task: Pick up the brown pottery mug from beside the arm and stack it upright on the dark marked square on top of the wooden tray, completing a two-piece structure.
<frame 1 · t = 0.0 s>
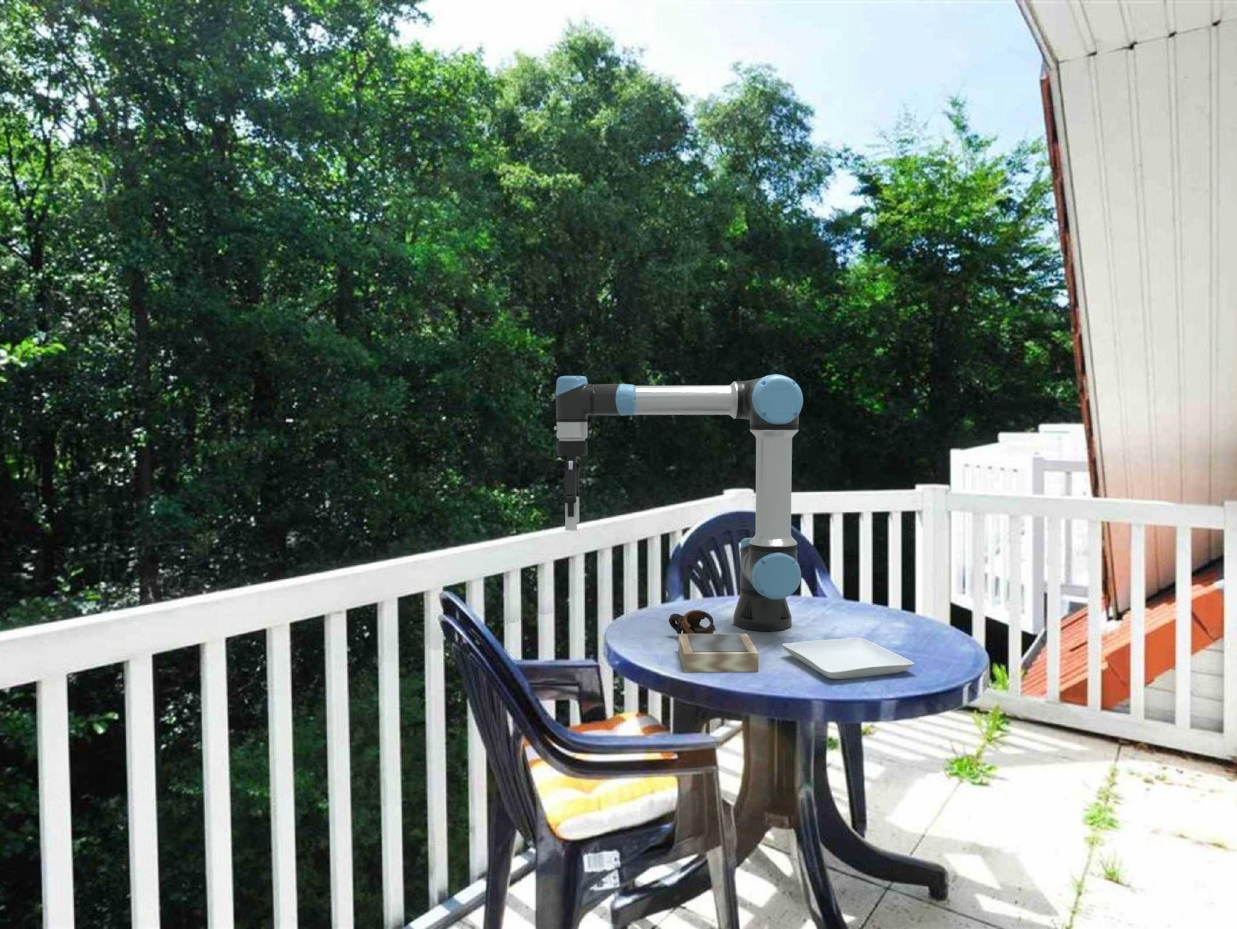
hand: (572, 526, 204), 28 cm above the table, tool pointing down, fingers open, 13 cm apart
pottery mug: (691, 640, 205), on the table
salad plate: (845, 668, 184), on the table
wooden tray: (716, 660, 187), on the table
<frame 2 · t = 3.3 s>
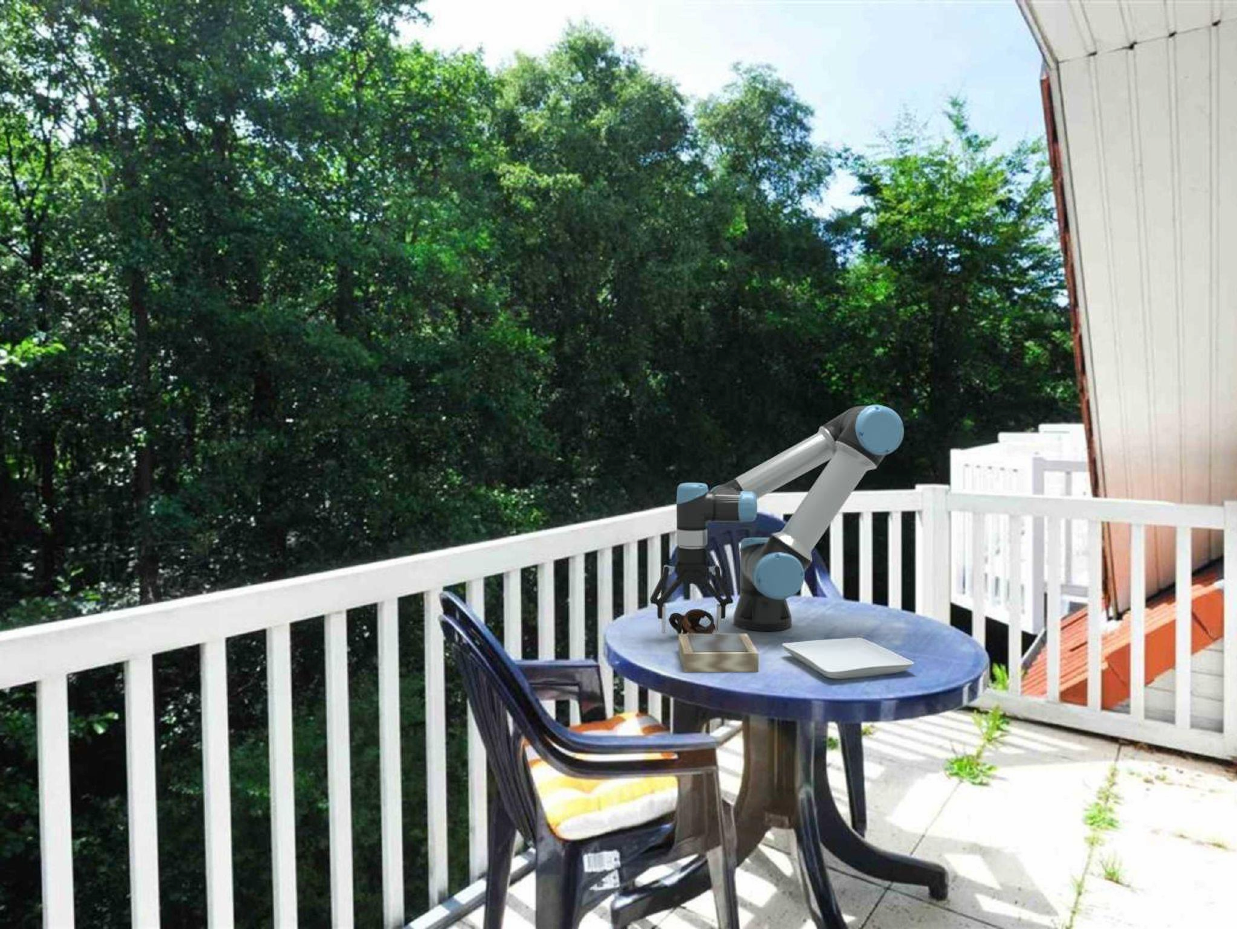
hand: (691, 631, 205), 2 cm above the table, tool pointing down, fingers open, 13 cm apart
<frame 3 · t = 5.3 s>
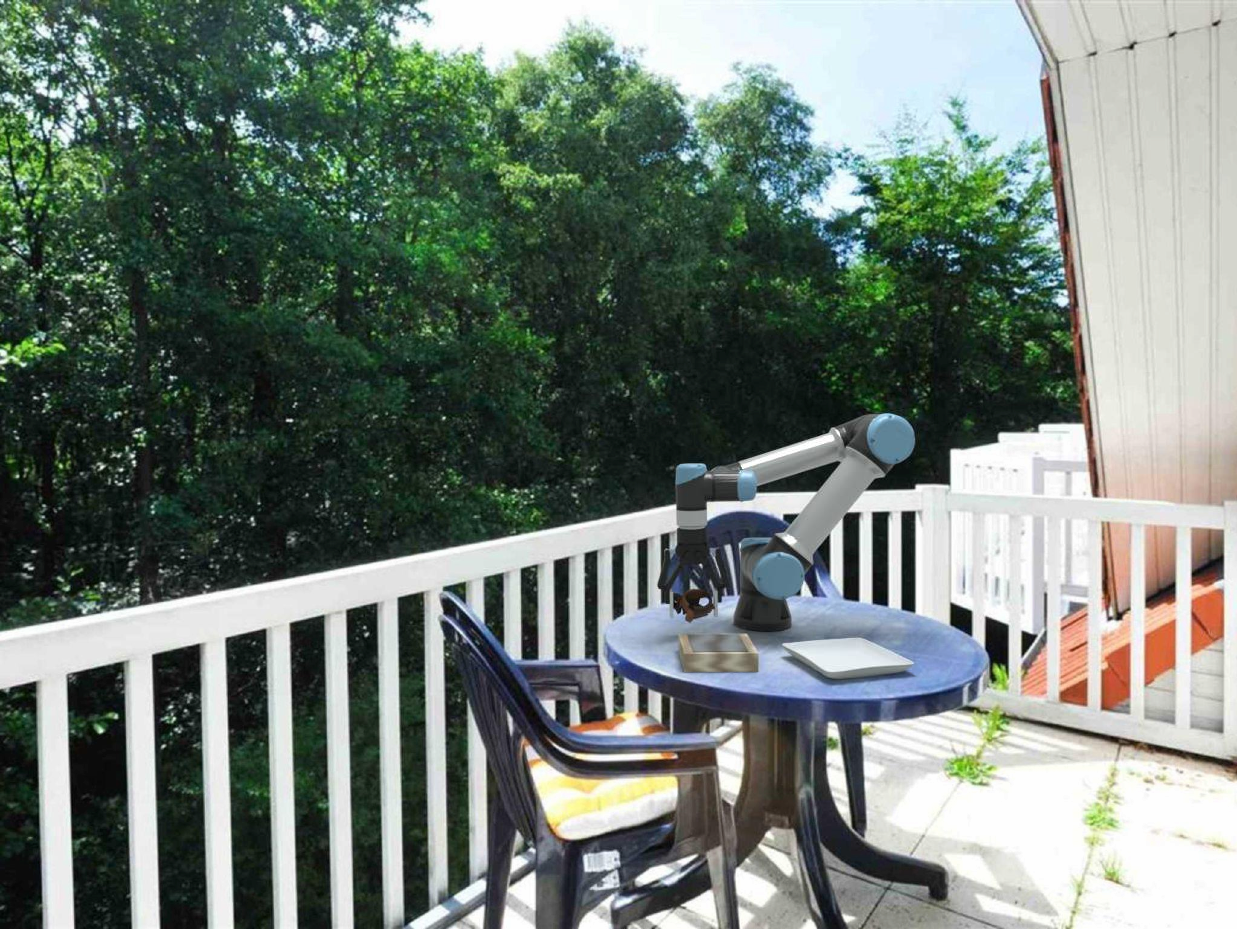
hand: (693, 616, 205), 6 cm above the table, tool pointing down, fingers closed on pottery mug, 10 cm apart
pottery mug: (691, 619, 206), point 5 cm above the table, touching gripper
everything else where it was.
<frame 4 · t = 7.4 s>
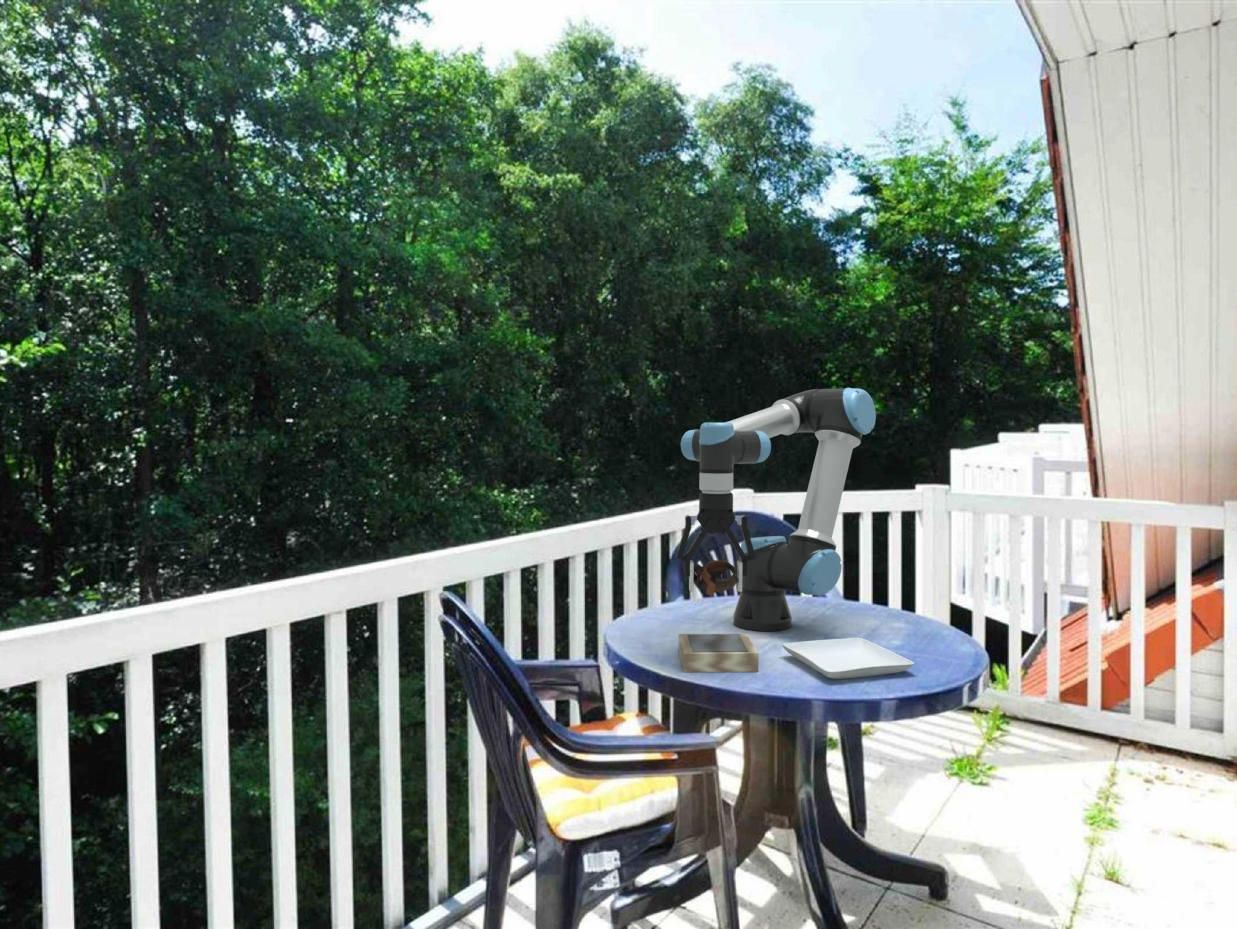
hand: (715, 590, 187), 16 cm above the table, tool pointing down, fingers closed on pottery mug, 10 cm apart
pottery mug: (712, 593, 188), point 15 cm above the table, touching gripper
everything else where it was.
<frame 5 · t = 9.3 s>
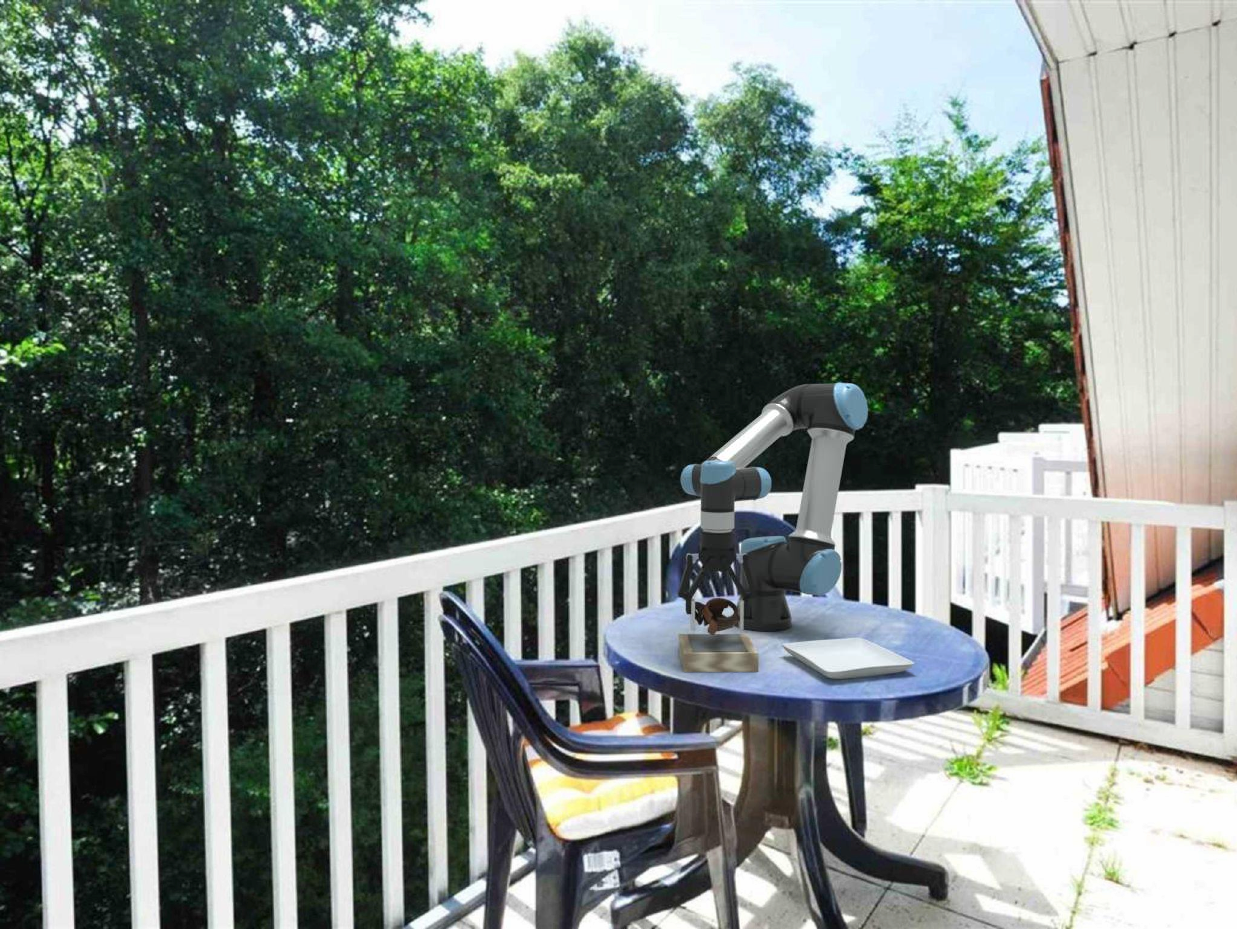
hand: (716, 628, 187), 7 cm above the table, tool pointing down, fingers closed on pottery mug, 10 cm apart
pottery mug: (713, 630, 188), point 6 cm above the table, touching gripper
everything else where it was.
when the fingers open (6 cm above the table, at t = 10.6 s): pottery mug drops 1 cm, resting on wooden tray.
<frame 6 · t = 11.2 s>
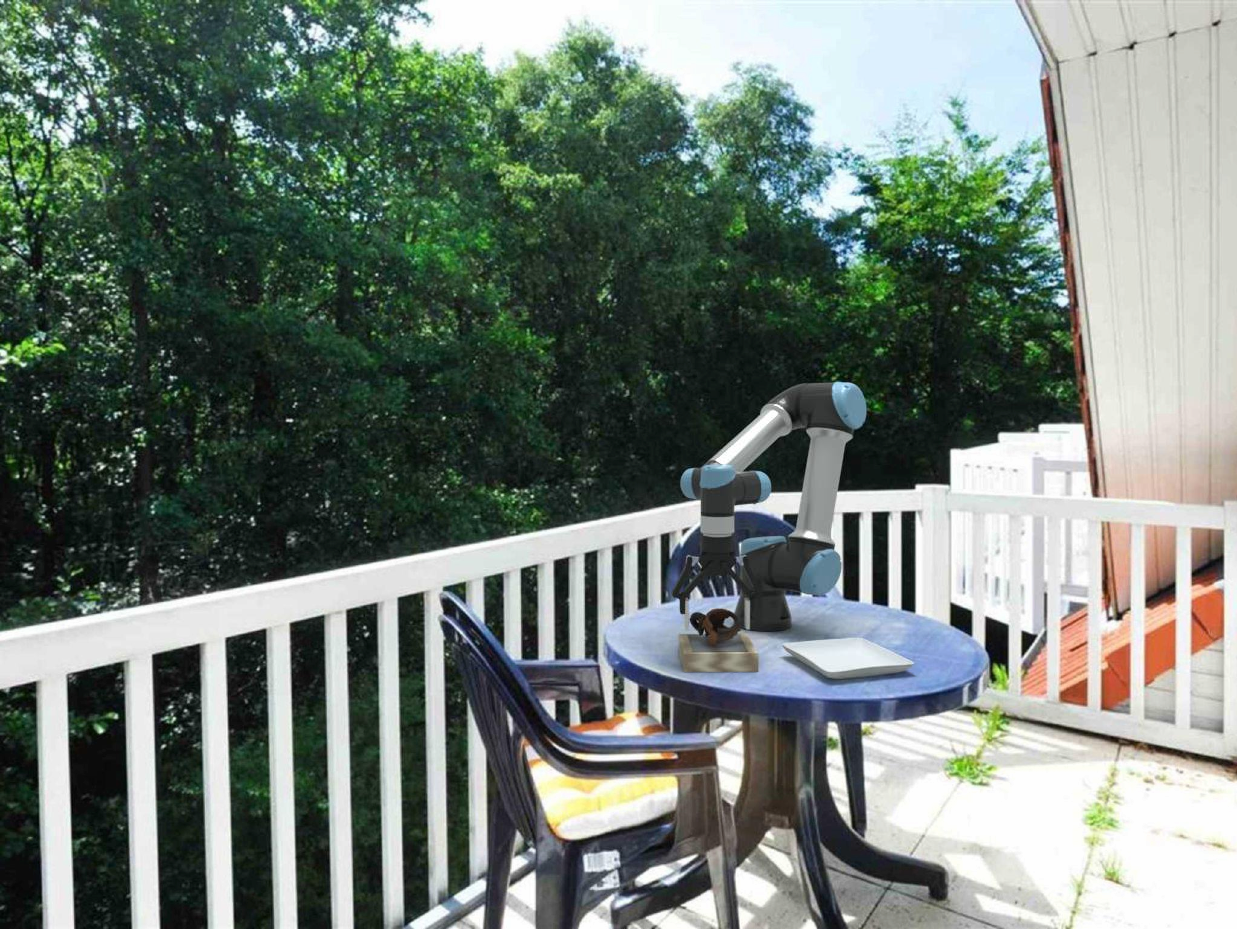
hand: (716, 628, 187), 7 cm above the table, tool pointing down, fingers open, 13 cm apart
pottery mug: (714, 641, 189), point 4 cm above the table, touching wooden tray
everything else where it was.
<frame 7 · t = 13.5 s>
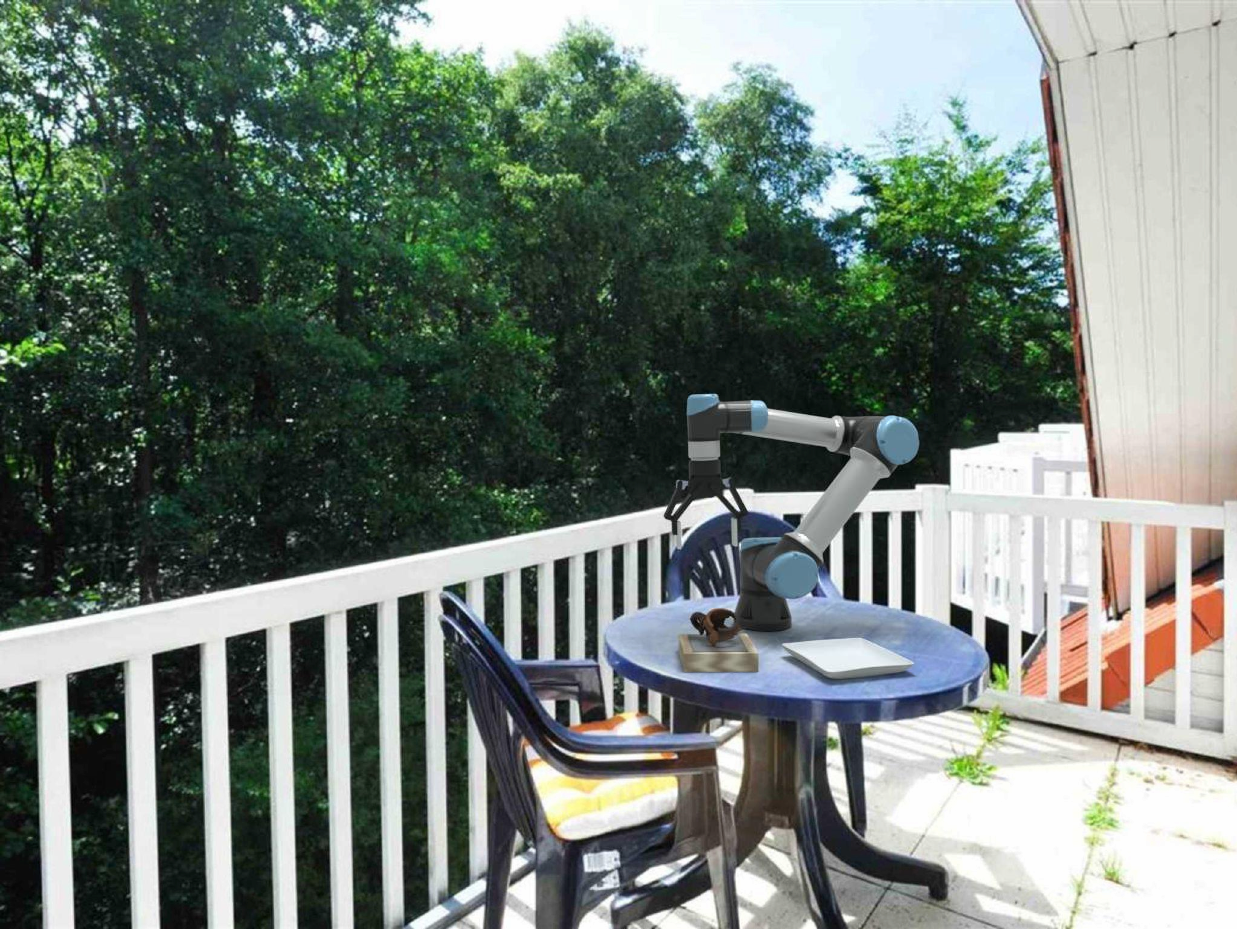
hand: (707, 547, 200), 23 cm above the table, tool pointing down, fingers open, 13 cm apart
nothing on the table moved.
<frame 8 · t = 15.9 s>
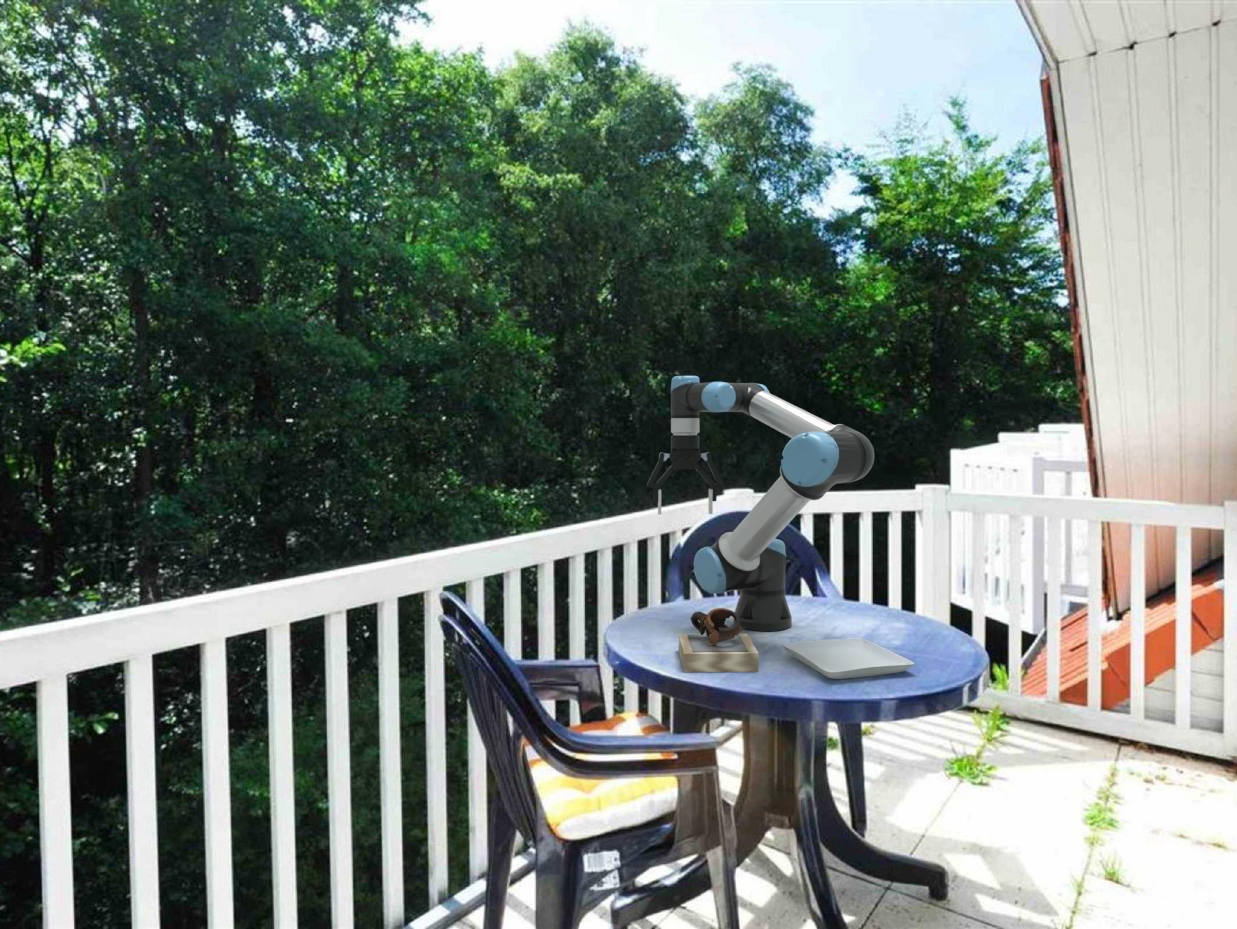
hand: (685, 513, 222), 29 cm above the table, tool pointing down, fingers open, 13 cm apart
nothing on the table moved.
at the end: pottery mug inside the target area on the wooden tray (2.0 cm from its centre), point 4.0 cm above the wooden tray's base; pottery mug tilted 1°; the gripper is holding nothing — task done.
